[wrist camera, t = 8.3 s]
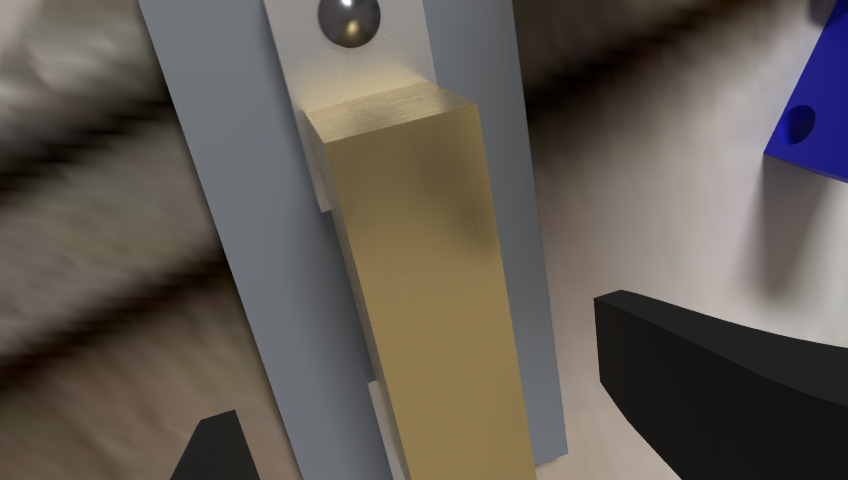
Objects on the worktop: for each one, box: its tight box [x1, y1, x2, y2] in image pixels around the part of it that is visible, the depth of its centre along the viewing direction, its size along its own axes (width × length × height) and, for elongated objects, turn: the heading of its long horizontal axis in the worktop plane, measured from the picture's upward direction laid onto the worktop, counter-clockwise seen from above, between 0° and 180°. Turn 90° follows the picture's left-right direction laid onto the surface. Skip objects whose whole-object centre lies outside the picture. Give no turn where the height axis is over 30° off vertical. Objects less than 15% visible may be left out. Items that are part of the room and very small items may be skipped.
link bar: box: [304, 81, 537, 480], centre depth 18 cm, size 4×12×4 cm, turn 12°
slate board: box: [138, 0, 568, 480], centre depth 22 cm, size 10×20×1 cm, turn 12°
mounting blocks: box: [262, 0, 437, 480], centre depth 21 cm, size 4×18×1 cm, turn 12°
